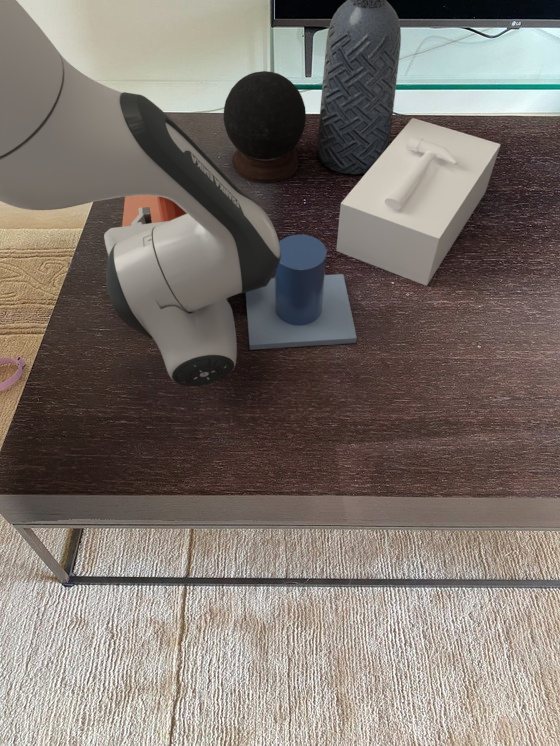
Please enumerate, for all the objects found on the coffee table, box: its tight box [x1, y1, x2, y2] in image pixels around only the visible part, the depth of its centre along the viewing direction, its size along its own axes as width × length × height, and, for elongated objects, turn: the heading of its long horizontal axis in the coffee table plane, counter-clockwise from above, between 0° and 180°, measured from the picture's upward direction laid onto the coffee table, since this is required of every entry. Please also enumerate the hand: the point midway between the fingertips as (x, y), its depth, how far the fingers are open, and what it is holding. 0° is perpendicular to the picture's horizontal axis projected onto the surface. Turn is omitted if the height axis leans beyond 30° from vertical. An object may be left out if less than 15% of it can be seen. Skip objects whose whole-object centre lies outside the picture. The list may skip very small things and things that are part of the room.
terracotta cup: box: [157, 196, 187, 222], centre depth 91 cm, size 6×6×10 cm
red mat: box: [121, 195, 162, 227], centre depth 96 cm, size 18×14×1 cm
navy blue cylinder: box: [274, 234, 328, 325], centre depth 80 cm, size 6×6×10 cm
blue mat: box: [245, 273, 358, 351], centre depth 84 cm, size 14×12×1 cm
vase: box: [316, 0, 402, 175], centre depth 96 cm, size 12×12×28 cm
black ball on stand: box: [223, 70, 307, 184], centre depth 100 cm, size 13×13×15 cm
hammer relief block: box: [335, 117, 501, 287], centre depth 92 cm, size 14×25×11 cm, turn 150°
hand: (179, 207), depth 86 cm, fingers open, 8 cm apart
